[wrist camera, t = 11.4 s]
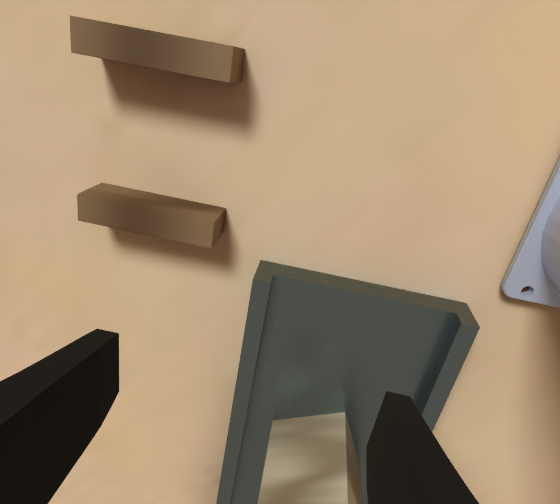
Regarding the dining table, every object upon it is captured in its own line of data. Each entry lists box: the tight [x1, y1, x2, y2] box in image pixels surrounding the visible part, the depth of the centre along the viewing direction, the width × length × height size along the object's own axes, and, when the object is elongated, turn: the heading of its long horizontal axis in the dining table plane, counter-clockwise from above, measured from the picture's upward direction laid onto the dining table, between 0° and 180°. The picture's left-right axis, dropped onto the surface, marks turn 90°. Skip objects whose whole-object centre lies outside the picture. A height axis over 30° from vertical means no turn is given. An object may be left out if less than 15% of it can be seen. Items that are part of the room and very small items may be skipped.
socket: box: [70, 16, 245, 248], centre depth 17 cm, size 6×8×2 cm
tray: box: [217, 260, 480, 504], centre depth 23 cm, size 10×20×2 cm, turn 170°
